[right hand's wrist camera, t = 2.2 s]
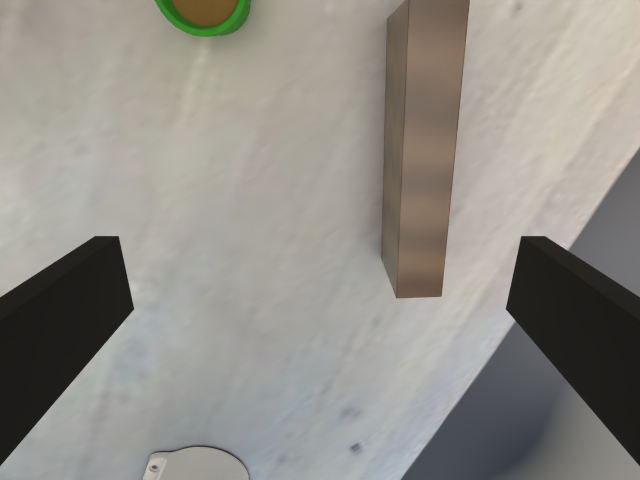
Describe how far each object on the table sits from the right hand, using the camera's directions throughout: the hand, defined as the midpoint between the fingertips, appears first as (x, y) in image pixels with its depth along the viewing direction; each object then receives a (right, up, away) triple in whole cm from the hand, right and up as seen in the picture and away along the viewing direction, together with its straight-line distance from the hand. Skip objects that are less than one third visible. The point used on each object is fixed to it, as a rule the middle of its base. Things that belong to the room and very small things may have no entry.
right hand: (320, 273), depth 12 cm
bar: (+9, +11, +29) cm, 32 cm away
